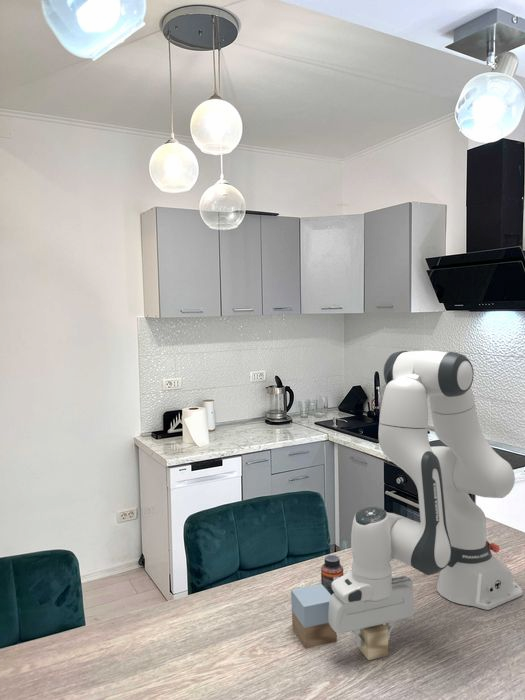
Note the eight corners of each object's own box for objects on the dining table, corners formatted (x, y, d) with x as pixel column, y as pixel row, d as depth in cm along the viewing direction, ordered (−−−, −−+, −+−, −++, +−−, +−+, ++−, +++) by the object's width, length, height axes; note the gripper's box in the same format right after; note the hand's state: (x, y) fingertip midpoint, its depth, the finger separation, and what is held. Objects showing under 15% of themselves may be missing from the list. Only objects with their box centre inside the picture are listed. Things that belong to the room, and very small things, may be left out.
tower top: (321, 603, 128) (321, 583, 128) (336, 621, 120) (335, 600, 120) (291, 609, 125) (291, 589, 125) (304, 628, 118) (303, 606, 118)
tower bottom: (322, 623, 128) (322, 603, 128) (336, 642, 120) (336, 621, 120) (292, 629, 126) (291, 609, 125) (304, 649, 118) (304, 628, 118)
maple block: (376, 642, 120) (376, 617, 119) (388, 655, 115) (388, 629, 115) (357, 646, 118) (357, 621, 118) (368, 660, 113) (368, 634, 113)
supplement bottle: (343, 606, 135) (342, 564, 135) (320, 604, 136) (319, 562, 136) (344, 594, 141) (343, 553, 140) (322, 592, 142) (321, 552, 142)
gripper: (404, 568, 122) (404, 624, 123) (324, 583, 116) (325, 643, 116) (420, 580, 116) (420, 640, 116) (337, 597, 110) (338, 660, 110)
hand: (372, 641), depth 116 cm, fingers closed on maple block, 5 cm apart
